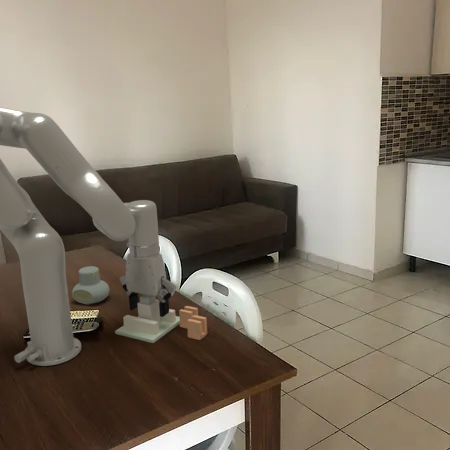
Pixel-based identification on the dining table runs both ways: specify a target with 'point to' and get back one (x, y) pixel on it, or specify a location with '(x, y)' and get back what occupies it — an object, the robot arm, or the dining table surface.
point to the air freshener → (90, 286)
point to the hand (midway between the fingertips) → (149, 311)
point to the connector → (149, 308)
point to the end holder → (148, 327)
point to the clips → (193, 322)
